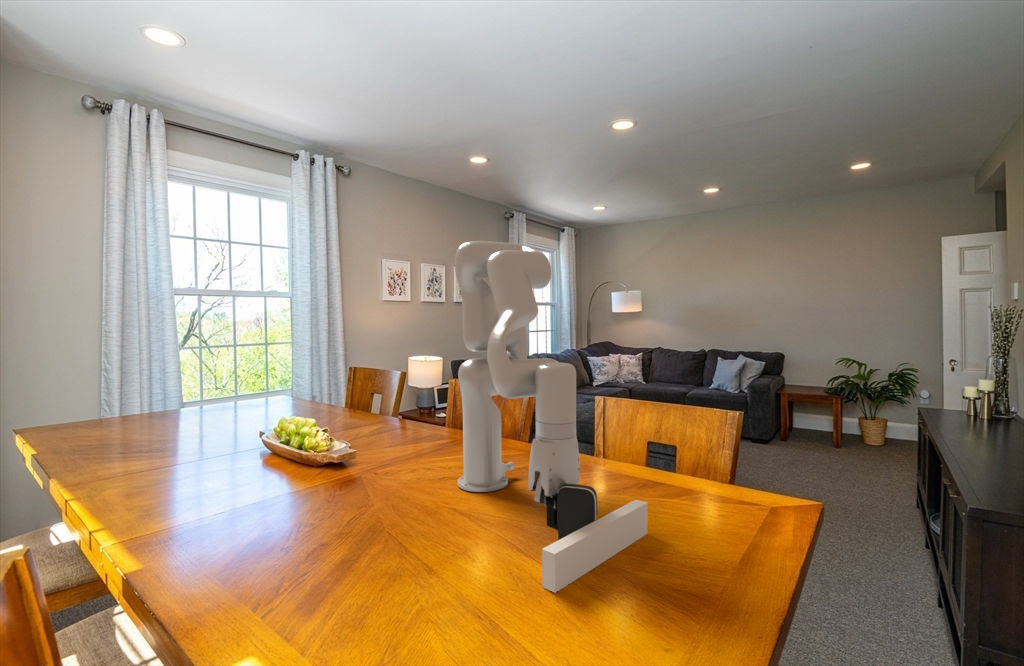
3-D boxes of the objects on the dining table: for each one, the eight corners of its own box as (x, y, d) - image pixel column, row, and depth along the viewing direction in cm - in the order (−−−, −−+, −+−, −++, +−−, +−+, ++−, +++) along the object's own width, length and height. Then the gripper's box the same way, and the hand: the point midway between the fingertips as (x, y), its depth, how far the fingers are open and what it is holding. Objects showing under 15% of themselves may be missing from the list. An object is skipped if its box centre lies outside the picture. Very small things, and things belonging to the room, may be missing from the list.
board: (635, 529, 97) (635, 499, 97) (647, 533, 96) (647, 502, 95) (542, 587, 77) (542, 548, 77) (554, 593, 75) (554, 554, 75)
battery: (599, 546, 90) (599, 484, 90) (595, 556, 87) (594, 491, 87) (562, 540, 93) (561, 480, 93) (556, 549, 89) (555, 486, 89)
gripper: (565, 420, 100) (565, 509, 101) (513, 433, 90) (513, 533, 90) (596, 426, 95) (595, 520, 96) (544, 441, 84) (545, 547, 85)
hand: (555, 526), depth 93 cm, fingers closed
